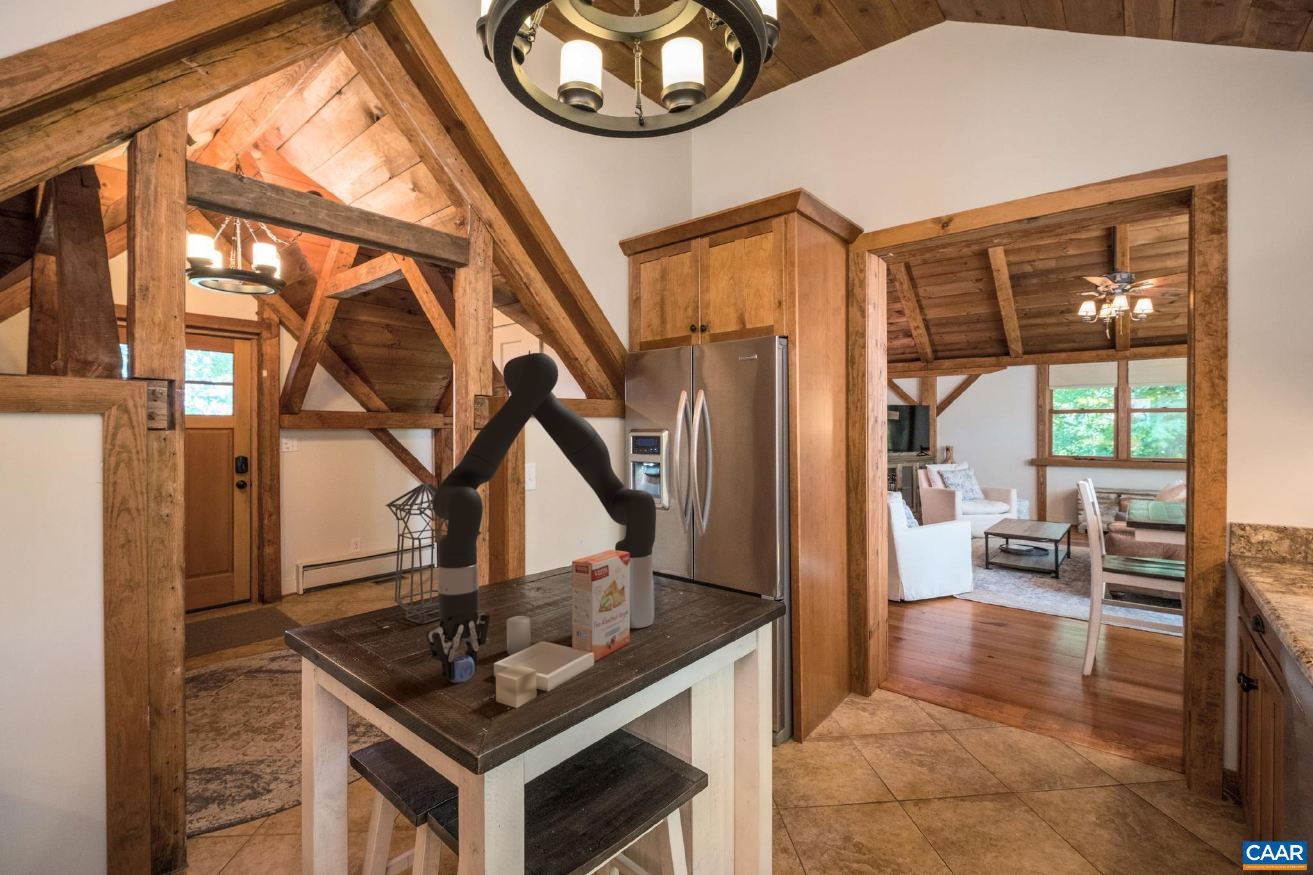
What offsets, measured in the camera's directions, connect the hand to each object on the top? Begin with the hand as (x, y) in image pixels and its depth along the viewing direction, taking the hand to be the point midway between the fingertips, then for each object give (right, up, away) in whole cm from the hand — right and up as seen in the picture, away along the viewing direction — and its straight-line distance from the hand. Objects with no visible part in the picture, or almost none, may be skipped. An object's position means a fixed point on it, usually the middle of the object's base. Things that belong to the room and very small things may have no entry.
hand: (460, 673), depth 114 cm
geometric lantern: (-21, -1, +38) cm, 44 cm away
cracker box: (+27, -1, +13) cm, 30 cm away
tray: (+16, -1, +3) cm, 16 cm away
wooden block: (+13, -1, -9) cm, 16 cm away
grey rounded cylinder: (+8, -1, +14) cm, 16 cm away
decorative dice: (0, -1, 0) cm, 1 cm away
